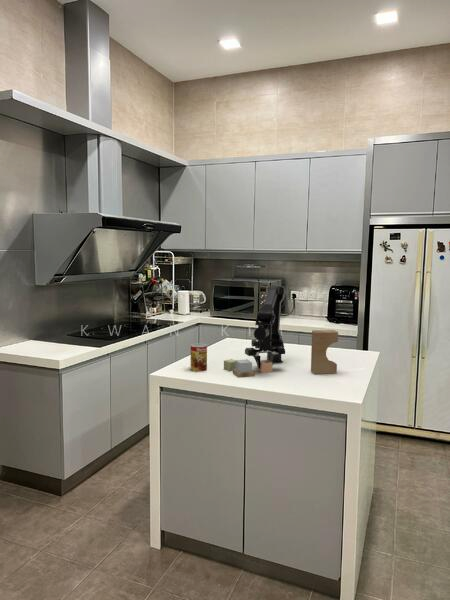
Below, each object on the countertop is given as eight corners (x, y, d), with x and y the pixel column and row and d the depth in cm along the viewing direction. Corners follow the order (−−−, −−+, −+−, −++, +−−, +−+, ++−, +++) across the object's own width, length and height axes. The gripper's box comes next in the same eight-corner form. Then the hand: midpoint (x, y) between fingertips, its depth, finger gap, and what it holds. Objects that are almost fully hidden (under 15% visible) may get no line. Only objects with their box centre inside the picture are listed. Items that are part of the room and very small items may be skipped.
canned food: (200, 372, 208) (200, 347, 206) (187, 370, 212) (187, 345, 210) (210, 369, 214) (210, 344, 213) (196, 366, 218) (196, 342, 217)
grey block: (247, 368, 208) (247, 359, 208) (252, 372, 203) (252, 362, 202) (235, 369, 207) (235, 360, 206) (239, 373, 201) (239, 363, 200)
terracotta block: (267, 369, 216) (267, 359, 215) (272, 371, 210) (272, 362, 210) (257, 369, 214) (257, 360, 213) (261, 372, 209) (261, 363, 208)
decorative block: (332, 370, 214) (333, 329, 212) (337, 373, 208) (338, 331, 206) (310, 371, 212) (311, 330, 210) (314, 374, 207) (315, 332, 205)
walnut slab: (248, 373, 210) (248, 368, 210) (254, 377, 202) (254, 372, 202) (232, 374, 208) (232, 369, 207) (238, 379, 200) (238, 373, 200)
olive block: (231, 368, 217) (231, 359, 217) (238, 370, 213) (238, 361, 213) (223, 369, 214) (223, 360, 214) (230, 371, 210) (230, 362, 210)
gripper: (276, 332, 221) (275, 363, 222) (241, 334, 215) (240, 365, 217) (286, 336, 210) (285, 369, 212) (249, 338, 205) (248, 371, 206)
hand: (264, 368), depth 212 cm, fingers closed on terracotta block, 5 cm apart
